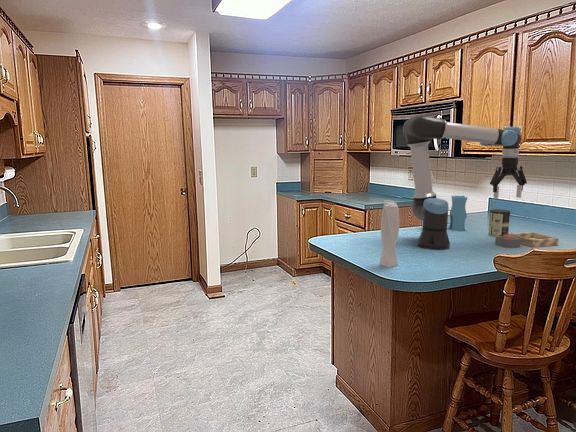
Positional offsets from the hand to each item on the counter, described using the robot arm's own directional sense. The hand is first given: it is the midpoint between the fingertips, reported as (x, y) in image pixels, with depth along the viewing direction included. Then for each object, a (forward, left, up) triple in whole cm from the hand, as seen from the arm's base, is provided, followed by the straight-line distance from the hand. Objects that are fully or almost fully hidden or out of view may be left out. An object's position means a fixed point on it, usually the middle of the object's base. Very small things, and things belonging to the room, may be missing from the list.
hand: (507, 198), depth 225 cm
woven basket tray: (+10, -9, -23) cm, 26 cm away
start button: (-7, -11, -21) cm, 25 cm away
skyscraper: (-82, -28, -23) cm, 90 cm away
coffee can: (+6, +11, -23) cm, 26 cm away
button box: (-7, -11, -23) cm, 26 cm away
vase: (-6, +31, -23) cm, 39 cm away
